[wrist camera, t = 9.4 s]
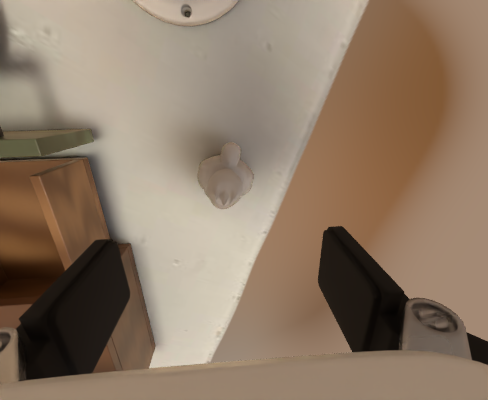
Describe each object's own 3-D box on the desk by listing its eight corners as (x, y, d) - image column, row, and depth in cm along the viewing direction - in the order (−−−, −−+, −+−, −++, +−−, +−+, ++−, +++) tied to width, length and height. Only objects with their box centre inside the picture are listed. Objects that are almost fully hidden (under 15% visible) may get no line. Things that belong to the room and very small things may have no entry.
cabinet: (-5, 250, 27) (-104, 313, 19) (130, 243, 28) (90, 300, 20) (47, 354, 34) (-9, 433, 26) (155, 346, 35) (133, 420, 27)
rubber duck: (196, 192, 26) (184, 226, 19) (206, 132, 24) (196, 144, 16) (244, 201, 27) (250, 237, 20) (257, 143, 25) (271, 160, 17)
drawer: (-106, 61, 19) (-272, 39, 13) (72, 58, 20) (-1, 36, 14) (5, 279, 28) (-61, 331, 21) (128, 271, 28) (99, 320, 22)
